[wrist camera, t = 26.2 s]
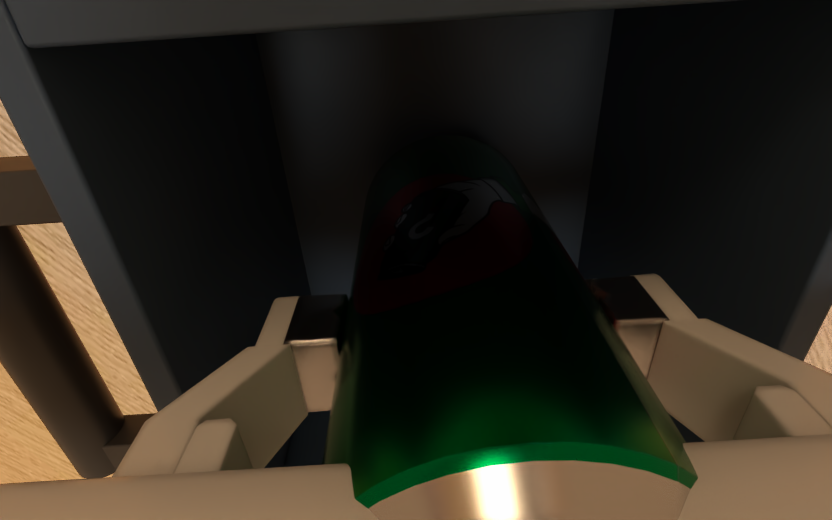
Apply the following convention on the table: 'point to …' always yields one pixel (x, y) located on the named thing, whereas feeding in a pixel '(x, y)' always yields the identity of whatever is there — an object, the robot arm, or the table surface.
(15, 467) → the table surface
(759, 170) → the handled storage box
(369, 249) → the soda can
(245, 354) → the robot arm
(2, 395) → the table surface
